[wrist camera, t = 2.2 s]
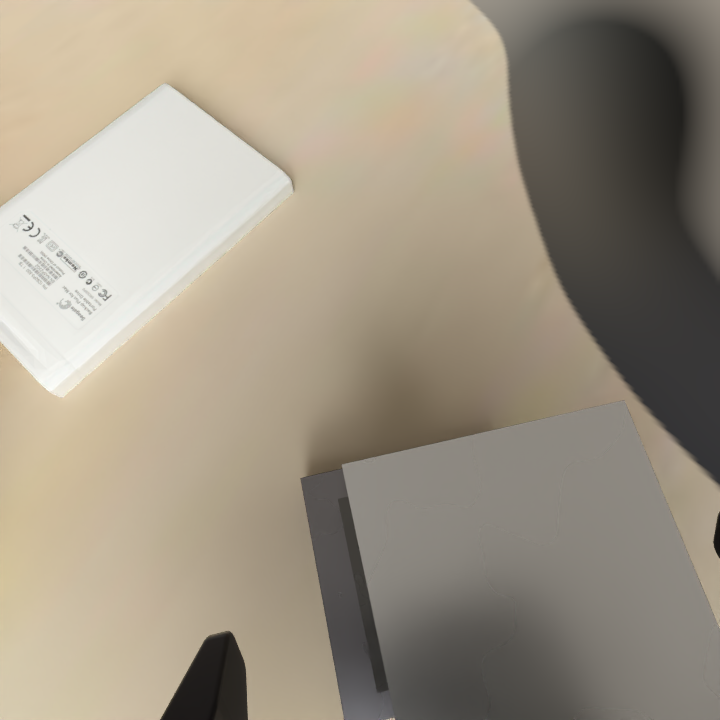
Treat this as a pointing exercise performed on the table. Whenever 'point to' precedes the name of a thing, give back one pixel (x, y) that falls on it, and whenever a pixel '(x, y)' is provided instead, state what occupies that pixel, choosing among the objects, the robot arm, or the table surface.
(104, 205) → the external hard drive
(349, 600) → the stud plate
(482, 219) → the table surface
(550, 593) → the strut
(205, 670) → the robot arm
